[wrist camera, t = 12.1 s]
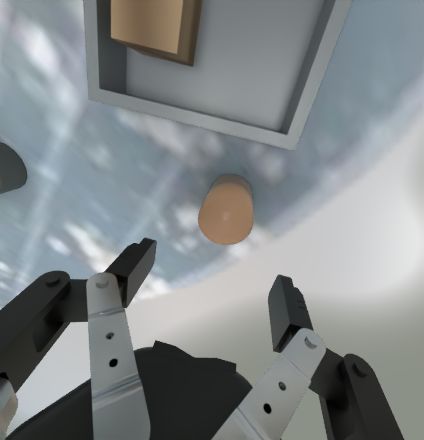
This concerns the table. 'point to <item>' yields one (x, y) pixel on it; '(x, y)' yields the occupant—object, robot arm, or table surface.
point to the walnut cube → (158, 27)
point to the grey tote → (225, 67)
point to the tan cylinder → (227, 211)
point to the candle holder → (11, 170)
